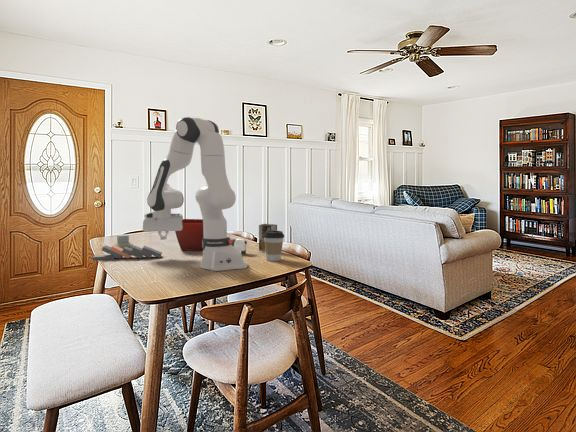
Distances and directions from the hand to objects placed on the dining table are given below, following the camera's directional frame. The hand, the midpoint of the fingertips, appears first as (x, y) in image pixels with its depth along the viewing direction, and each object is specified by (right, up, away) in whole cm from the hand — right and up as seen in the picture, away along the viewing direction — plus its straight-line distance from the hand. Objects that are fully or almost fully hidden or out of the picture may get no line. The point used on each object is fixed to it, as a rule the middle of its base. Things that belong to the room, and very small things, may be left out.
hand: (163, 239), depth 193 cm
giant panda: (+37, -9, +11) cm, 40 cm away
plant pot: (+10, -7, +24) cm, 27 cm away
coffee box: (+55, -9, +18) cm, 59 cm away
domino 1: (-24, -9, -5) cm, 26 cm away
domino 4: (-10, -9, -2) cm, 14 cm away
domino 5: (-6, -9, -1) cm, 10 cm away
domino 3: (-16, -9, -3) cm, 19 cm away
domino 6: (-1, -9, 0) cm, 9 cm away
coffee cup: (+59, -11, -3) cm, 60 cm away
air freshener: (-26, -8, +9) cm, 29 cm away
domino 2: (-20, -9, -4) cm, 23 cm away
